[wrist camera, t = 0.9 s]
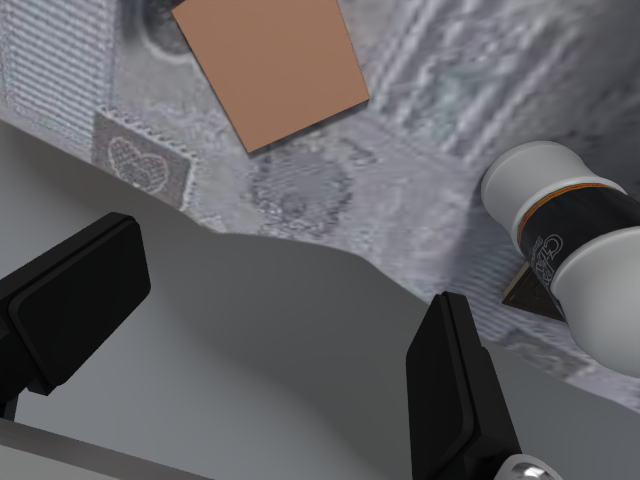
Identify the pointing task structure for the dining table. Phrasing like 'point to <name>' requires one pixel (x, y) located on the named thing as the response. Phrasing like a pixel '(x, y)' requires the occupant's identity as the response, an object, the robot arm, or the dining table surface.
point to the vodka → (574, 244)
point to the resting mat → (274, 62)
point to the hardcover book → (530, 294)
